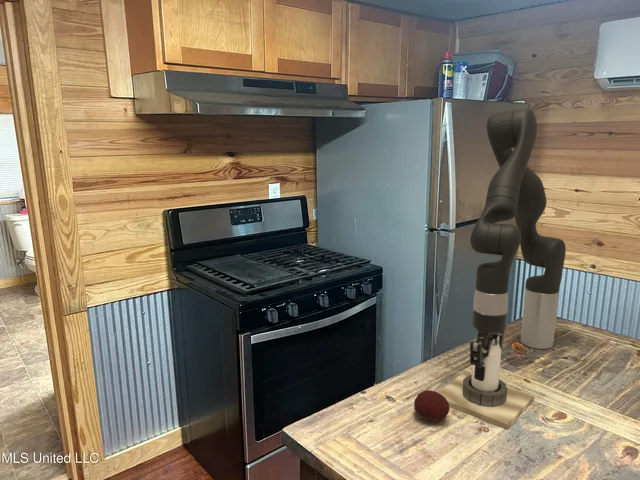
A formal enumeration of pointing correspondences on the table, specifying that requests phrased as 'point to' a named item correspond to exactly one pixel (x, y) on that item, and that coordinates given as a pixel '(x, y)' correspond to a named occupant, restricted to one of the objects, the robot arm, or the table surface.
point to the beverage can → (489, 371)
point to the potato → (431, 405)
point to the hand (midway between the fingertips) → (485, 374)
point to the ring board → (488, 412)
